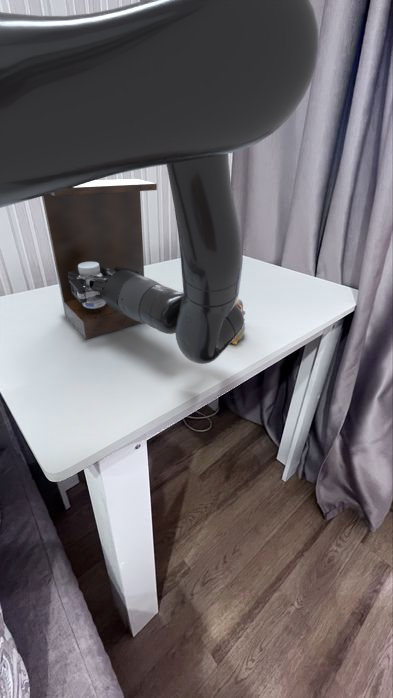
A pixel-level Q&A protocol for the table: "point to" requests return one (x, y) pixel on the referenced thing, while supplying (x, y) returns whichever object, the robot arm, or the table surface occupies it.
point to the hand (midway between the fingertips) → (82, 273)
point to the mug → (239, 336)
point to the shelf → (96, 242)
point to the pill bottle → (86, 270)
